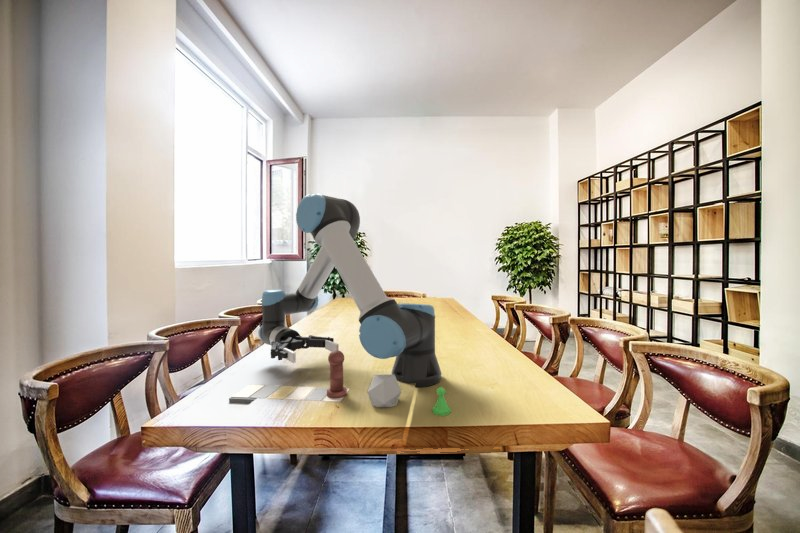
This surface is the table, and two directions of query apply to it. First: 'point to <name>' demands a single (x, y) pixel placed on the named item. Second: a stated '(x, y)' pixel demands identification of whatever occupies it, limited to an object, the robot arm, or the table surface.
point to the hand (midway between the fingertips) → (316, 353)
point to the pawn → (336, 375)
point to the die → (384, 391)
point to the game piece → (441, 404)
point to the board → (281, 393)
